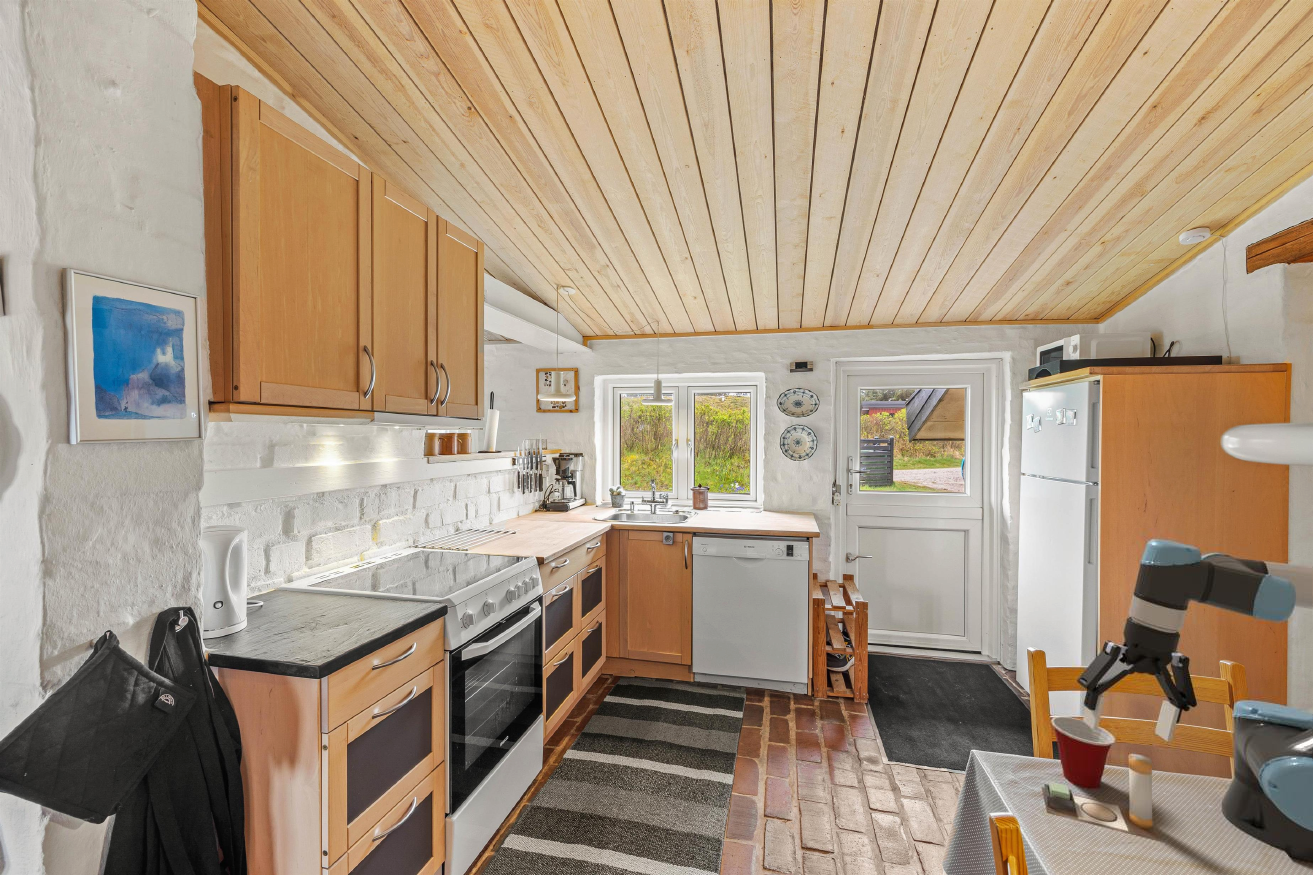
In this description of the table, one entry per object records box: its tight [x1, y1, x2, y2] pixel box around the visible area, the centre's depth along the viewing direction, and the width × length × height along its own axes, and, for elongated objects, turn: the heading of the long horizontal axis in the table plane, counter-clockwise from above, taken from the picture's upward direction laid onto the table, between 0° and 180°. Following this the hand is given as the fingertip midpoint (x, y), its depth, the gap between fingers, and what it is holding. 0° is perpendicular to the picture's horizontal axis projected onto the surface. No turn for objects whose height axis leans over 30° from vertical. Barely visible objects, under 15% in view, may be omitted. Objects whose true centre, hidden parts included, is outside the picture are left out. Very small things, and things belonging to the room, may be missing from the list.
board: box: [1041, 783, 1163, 843], centre depth 109 cm, size 17×9×3 cm, turn 62°
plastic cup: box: [1050, 716, 1116, 790], centre depth 119 cm, size 11×11×12 cm
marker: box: [1128, 753, 1154, 829], centre depth 106 cm, size 3×3×12 cm
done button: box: [1048, 781, 1070, 800], centre depth 112 cm, size 3×3×2 cm
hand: (1126, 731), depth 106 cm, fingers open, 13 cm apart
